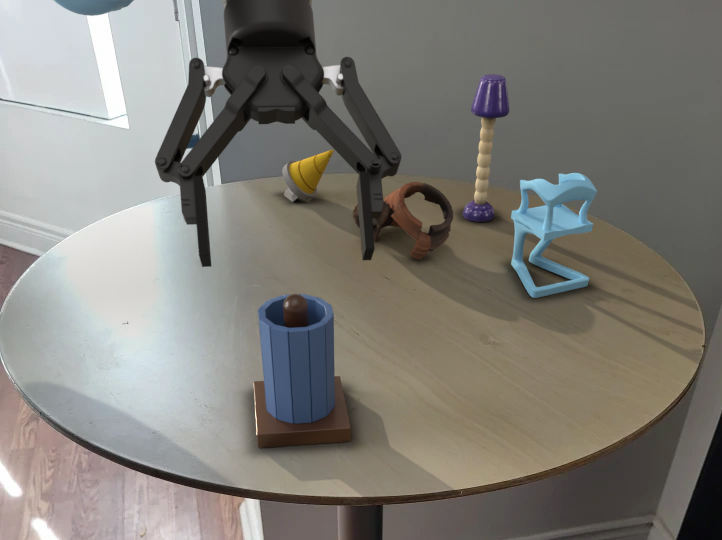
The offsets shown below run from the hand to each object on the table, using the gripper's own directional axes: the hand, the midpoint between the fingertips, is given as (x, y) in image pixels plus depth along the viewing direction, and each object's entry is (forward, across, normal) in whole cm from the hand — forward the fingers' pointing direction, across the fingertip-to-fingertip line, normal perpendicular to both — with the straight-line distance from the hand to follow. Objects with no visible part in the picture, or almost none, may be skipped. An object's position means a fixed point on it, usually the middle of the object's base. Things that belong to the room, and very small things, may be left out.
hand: (288, 258), depth 65 cm
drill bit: (-23, -5, -41) cm, 47 cm away
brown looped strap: (-11, -15, -29) cm, 35 cm away
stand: (+13, 0, -5) cm, 14 cm away
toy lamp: (-17, -27, -35) cm, 47 cm away
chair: (-4, -30, -22) cm, 38 cm away
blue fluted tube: (+12, 0, -4) cm, 12 cm away
